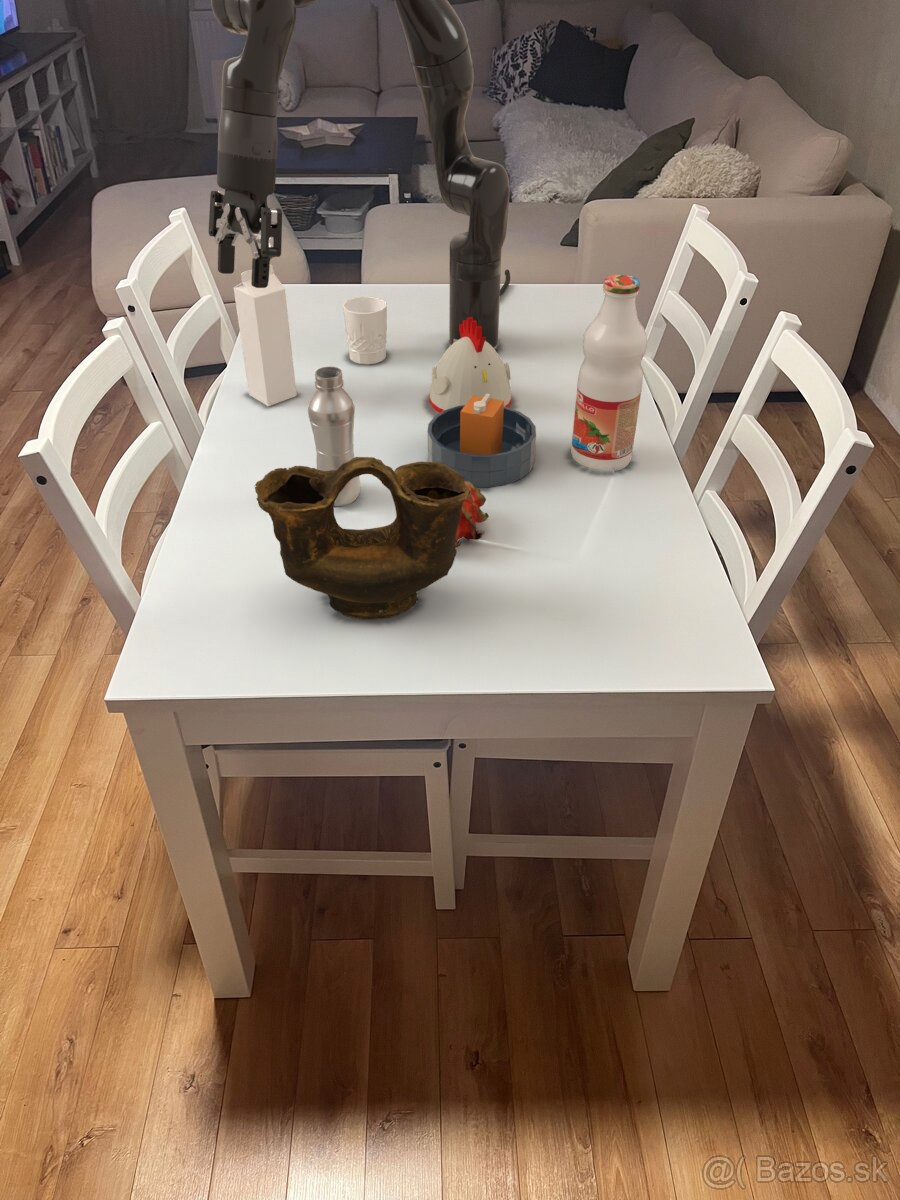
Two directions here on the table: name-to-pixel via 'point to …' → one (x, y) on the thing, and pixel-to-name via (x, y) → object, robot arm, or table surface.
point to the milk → (265, 339)
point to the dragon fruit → (471, 515)
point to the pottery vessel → (366, 533)
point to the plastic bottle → (333, 427)
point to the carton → (482, 426)
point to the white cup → (366, 329)
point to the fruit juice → (610, 380)
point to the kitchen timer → (469, 371)
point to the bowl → (478, 466)
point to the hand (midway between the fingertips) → (242, 280)
